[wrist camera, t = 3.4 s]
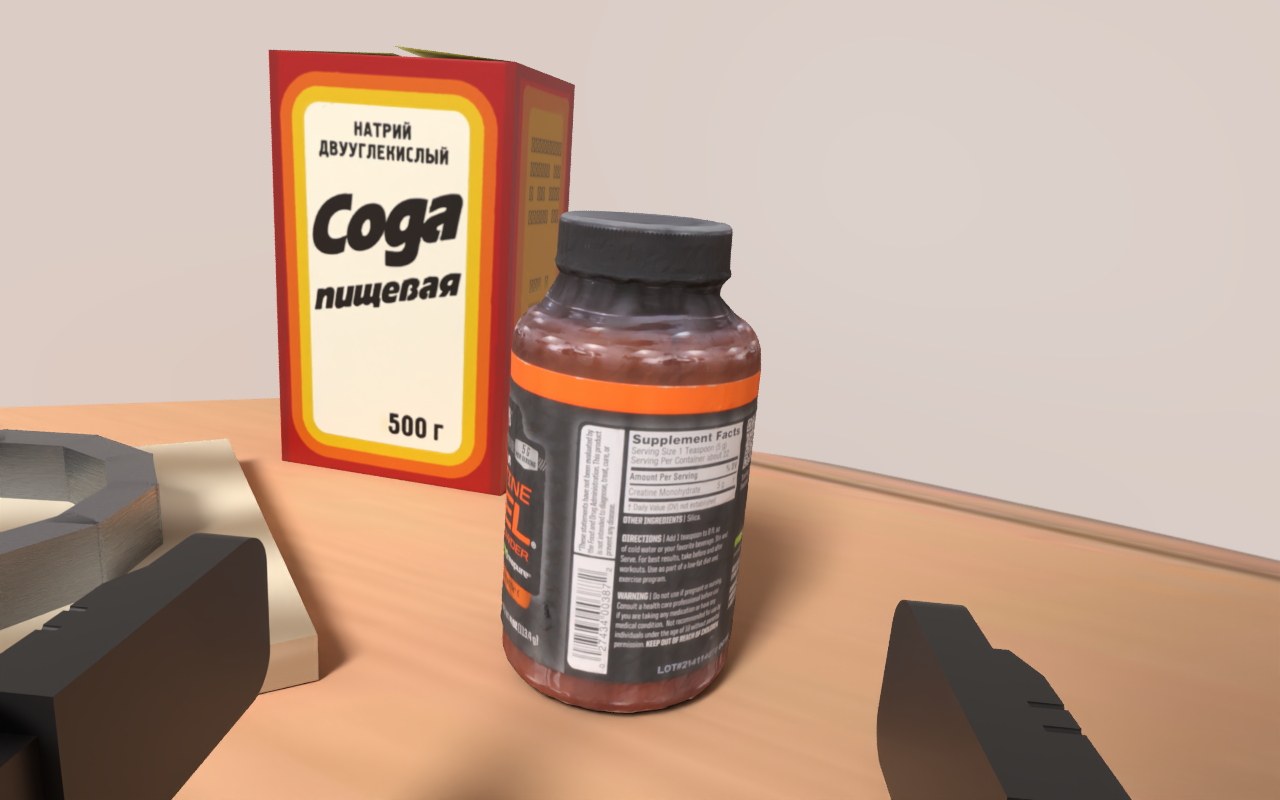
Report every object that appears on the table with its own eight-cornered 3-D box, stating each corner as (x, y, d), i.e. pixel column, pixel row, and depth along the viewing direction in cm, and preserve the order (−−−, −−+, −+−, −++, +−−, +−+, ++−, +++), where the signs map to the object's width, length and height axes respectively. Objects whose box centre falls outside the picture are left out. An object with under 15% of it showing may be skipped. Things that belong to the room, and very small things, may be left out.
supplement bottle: (489, 606, 25) (503, 202, 22) (688, 596, 26) (724, 216, 23) (512, 738, 19) (534, 216, 16) (762, 714, 21) (823, 234, 18)
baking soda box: (282, 460, 35) (268, 38, 31) (367, 420, 41) (365, 64, 37) (500, 495, 33) (516, 50, 29) (556, 448, 39) (575, 75, 35)
